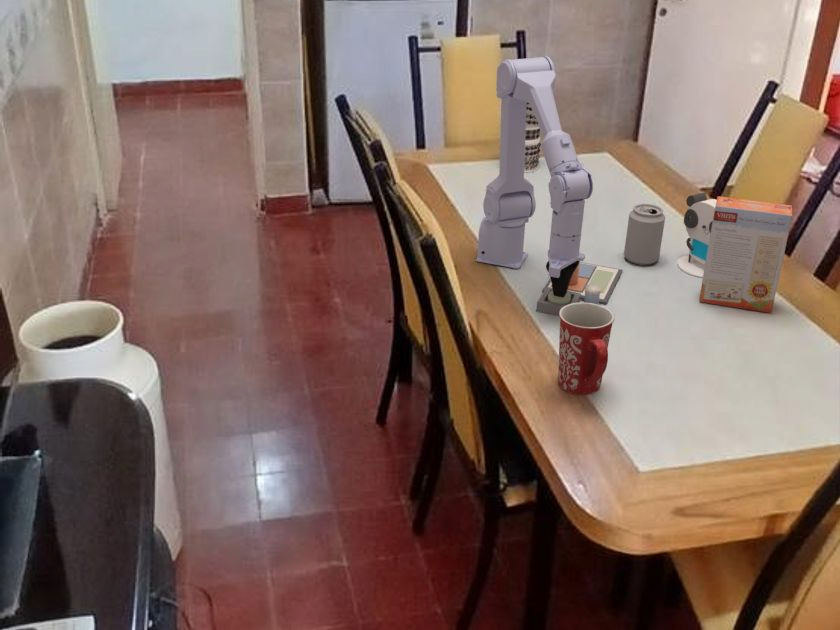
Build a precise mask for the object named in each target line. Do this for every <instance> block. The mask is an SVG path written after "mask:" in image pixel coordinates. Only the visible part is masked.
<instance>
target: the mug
mask: <svg viewBox="0 0 840 630" xmlns="http://www.w3.org/2000/svg"><path fill="white" fill-rule="evenodd" d="M558 316H559V344H558V345H559V347H558V372H557V382H558V385H559V387H560V388H562V389H563V390H564V391H565V392H567V393H570V394H574V395H582V396H583V395H590V394H591V395H592V394H594V393H596V392H598V391H599V390H600V389H601V386H602V380H603V375H604V374H605V372H606V369H607V367H608V366H607V365H608V361H609V352H608V351H609V350H608V349H609V343H610V338H611V333H612V327H613V322H614V321H615V314H614V313H613V312H612V311H611V310H610V309H609V308H607V307H606V306H603V305H602V304H599V305H597V304H593V303H584V301H583V302H581V301H580V303H572V304H568V305H566V306H564V307H562V308H561V309H560V311H559V315H558Z"/></svg>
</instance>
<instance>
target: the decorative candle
mask: <svg viewBox="0 0 840 630" xmlns="http://www.w3.org/2000/svg"><path fill="white" fill-rule="evenodd" d="M540 133H541V129H540V126H539V124H538V122H537V120H536V117H535V115H534V113H533V110H532V108H531V106H530V104H529V103H528V102H527V107H526V133H525V159H524V174H525V173H526V174H527V173H528V174H529V173H534V172H537V171H538V170H539V165H540V158H541V155H540V152H541V149H540V147H541V144H542V143H541V136H540Z"/></svg>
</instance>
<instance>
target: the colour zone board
mask: <svg viewBox="0 0 840 630" xmlns="http://www.w3.org/2000/svg"><path fill="white" fill-rule="evenodd" d="M621 273H623V269H621V268H617V267H616V268H615V267H610V266H609V267H608V266H605V265H604V266H603V265H598V264H593V263H587V262H583V261H580V265H579V274H578V283H577V284H576V285H569V287H568V290H567V291H571V292H576V293H581V298H580V301H583V302H584V297H585V287H586V285H588V284H596V285H598V286H600V287H601V291H600V297H599V305H602V306H603V305H604V306H607V305H608V303H609V300H610V298H611V295H612V294H613V292H614V290H615V287H616V286H617V284H618V281H619V280H620V277H621V276H620V275H622V274H621ZM546 287H550V288H552V282H551V278H549V279H548V281H547V283H546V284H545V285H544V287H543V288H542V293H543V292H544V290H545V289H546Z"/></svg>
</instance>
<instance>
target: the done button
mask: <svg viewBox="0 0 840 630" xmlns="http://www.w3.org/2000/svg"><path fill="white" fill-rule="evenodd" d="M570 300H571V295H570V293H568V292H567V293H566V295H565V296H564V297H558V296H554V294H553V291H550V292H549V293H548V302H553V303H558V304H563V305H568V304H570Z"/></svg>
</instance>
